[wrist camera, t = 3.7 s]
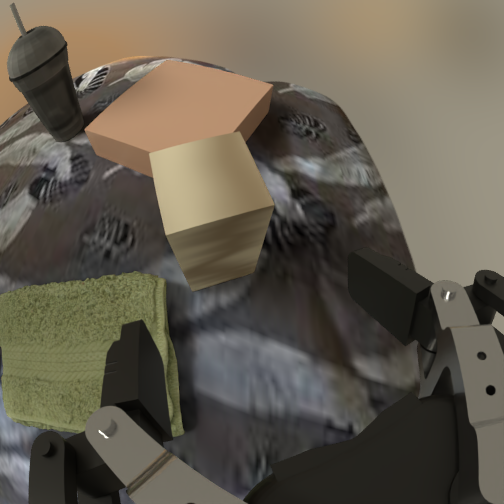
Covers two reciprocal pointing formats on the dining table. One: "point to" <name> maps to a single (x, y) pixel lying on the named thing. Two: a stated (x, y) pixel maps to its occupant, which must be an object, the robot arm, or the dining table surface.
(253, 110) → the terracotta plinth
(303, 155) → the dining table surface
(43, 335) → the washcloth
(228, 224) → the birch block
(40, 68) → the beverage cup
